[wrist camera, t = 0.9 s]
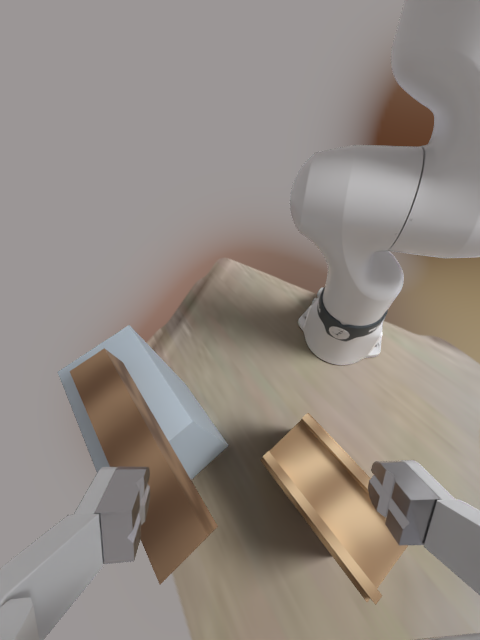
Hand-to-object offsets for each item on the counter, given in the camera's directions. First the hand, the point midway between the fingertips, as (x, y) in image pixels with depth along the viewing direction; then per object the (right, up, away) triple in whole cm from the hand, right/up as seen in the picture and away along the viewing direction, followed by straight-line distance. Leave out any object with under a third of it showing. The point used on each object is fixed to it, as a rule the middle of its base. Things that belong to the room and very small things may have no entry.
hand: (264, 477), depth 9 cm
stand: (-12, -17, +41) cm, 46 cm away
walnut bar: (-11, -7, +16) cm, 21 cm away
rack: (+12, -23, +34) cm, 43 cm away
